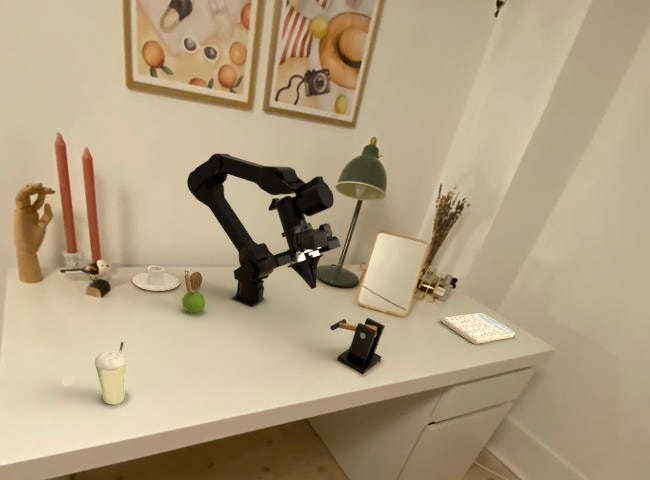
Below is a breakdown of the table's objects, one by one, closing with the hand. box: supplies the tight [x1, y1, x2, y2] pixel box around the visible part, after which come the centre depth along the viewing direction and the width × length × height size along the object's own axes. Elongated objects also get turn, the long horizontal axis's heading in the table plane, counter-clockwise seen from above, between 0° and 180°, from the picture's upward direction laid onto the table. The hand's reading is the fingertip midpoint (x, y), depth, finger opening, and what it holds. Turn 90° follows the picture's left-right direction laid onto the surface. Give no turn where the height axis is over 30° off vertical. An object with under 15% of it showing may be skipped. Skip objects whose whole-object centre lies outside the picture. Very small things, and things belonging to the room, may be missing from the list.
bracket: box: [337, 317, 385, 375], centre depth 86 cm, size 7×9×10 cm
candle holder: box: [132, 264, 181, 292], centre depth 102 cm, size 12×12×4 cm
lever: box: [329, 319, 377, 337], centre depth 87 cm, size 10×6×2 cm, turn 51°
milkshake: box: [94, 341, 127, 406], centre depth 62 cm, size 4×5×10 cm
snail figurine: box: [181, 269, 206, 314], centre depth 90 cm, size 5×6×12 cm
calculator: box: [441, 312, 516, 345], centre depth 116 cm, size 13×20×2 cm, turn 118°
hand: (313, 288), depth 91 cm, fingers closed
